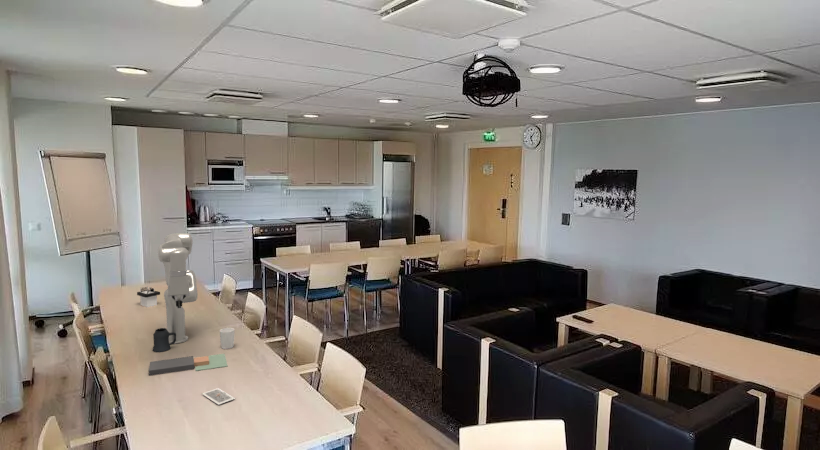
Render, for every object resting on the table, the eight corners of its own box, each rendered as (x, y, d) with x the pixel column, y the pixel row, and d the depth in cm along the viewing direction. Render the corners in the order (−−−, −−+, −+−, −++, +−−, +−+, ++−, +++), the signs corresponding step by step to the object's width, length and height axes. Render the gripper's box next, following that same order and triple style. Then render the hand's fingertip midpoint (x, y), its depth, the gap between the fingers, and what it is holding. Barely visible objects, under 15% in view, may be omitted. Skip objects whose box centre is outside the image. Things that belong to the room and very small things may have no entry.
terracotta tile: (193, 361, 248) (193, 357, 248) (208, 359, 251) (208, 355, 251) (194, 366, 242) (194, 362, 241) (209, 364, 245) (209, 360, 244)
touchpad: (218, 407, 203) (218, 402, 202) (201, 395, 212) (201, 391, 212) (235, 400, 209) (235, 396, 208) (218, 390, 218) (218, 385, 218)
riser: (150, 366, 241) (150, 361, 241) (193, 360, 250) (193, 355, 250) (148, 375, 231) (148, 370, 230) (194, 369, 239) (194, 364, 239)
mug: (152, 353, 258) (151, 333, 257) (152, 347, 266) (151, 328, 265) (177, 349, 264) (176, 330, 263) (175, 344, 272) (175, 325, 271)
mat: (194, 358, 253) (194, 357, 253) (224, 354, 260) (224, 353, 260) (195, 371, 237) (195, 370, 237) (227, 366, 244) (227, 365, 243)
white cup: (219, 349, 266) (218, 332, 265) (220, 345, 273) (220, 328, 272) (234, 348, 268) (233, 331, 267) (235, 344, 275) (235, 327, 274)
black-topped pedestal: (176, 305, 353) (176, 287, 352) (141, 313, 331) (140, 294, 329) (155, 299, 368) (154, 282, 366) (120, 306, 346) (119, 288, 344)
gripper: (193, 271, 256) (194, 304, 258) (162, 273, 250) (163, 307, 252) (194, 273, 250) (194, 308, 252) (161, 276, 243) (163, 311, 245)
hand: (179, 307), depth 252 cm, fingers closed
